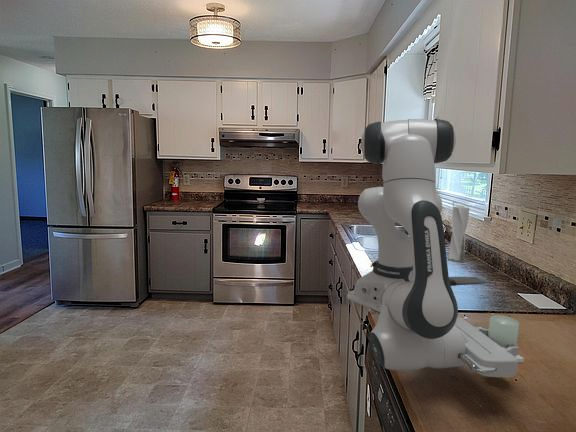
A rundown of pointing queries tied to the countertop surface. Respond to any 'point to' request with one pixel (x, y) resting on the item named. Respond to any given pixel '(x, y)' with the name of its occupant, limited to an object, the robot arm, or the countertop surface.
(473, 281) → the cleaver
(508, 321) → the sage green cylinder
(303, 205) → the countertop surface
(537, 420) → the countertop surface
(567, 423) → the countertop surface
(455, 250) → the skyscraper
